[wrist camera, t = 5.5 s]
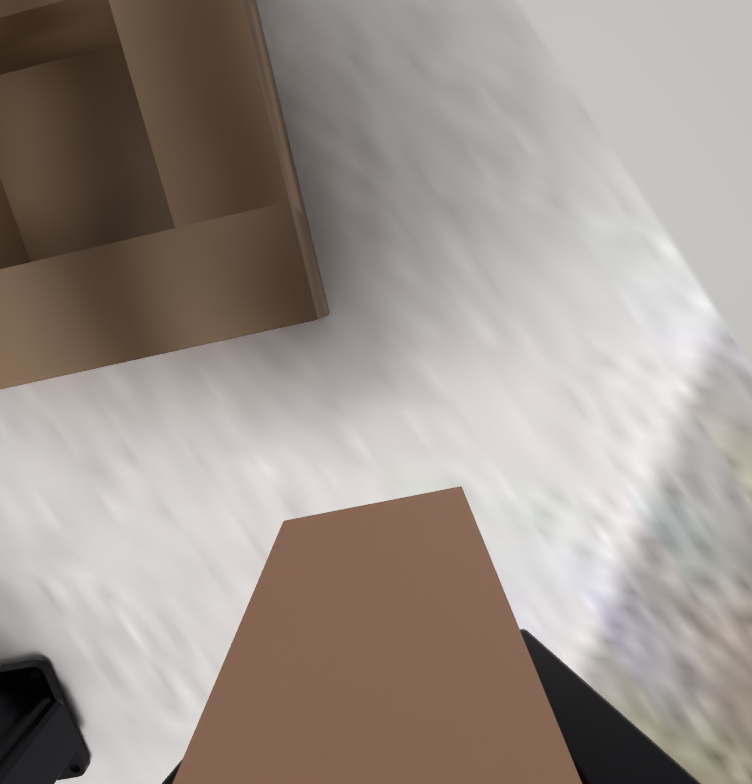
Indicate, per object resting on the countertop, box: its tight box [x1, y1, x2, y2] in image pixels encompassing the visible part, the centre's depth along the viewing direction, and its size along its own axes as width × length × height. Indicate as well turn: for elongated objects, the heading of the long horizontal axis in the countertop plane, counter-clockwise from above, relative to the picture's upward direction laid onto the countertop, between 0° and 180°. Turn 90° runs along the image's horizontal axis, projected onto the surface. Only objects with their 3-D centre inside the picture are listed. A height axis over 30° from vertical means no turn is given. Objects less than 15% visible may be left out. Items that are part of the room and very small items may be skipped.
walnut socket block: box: [0, 0, 329, 389], centre depth 16 cm, size 14×14×4 cm
